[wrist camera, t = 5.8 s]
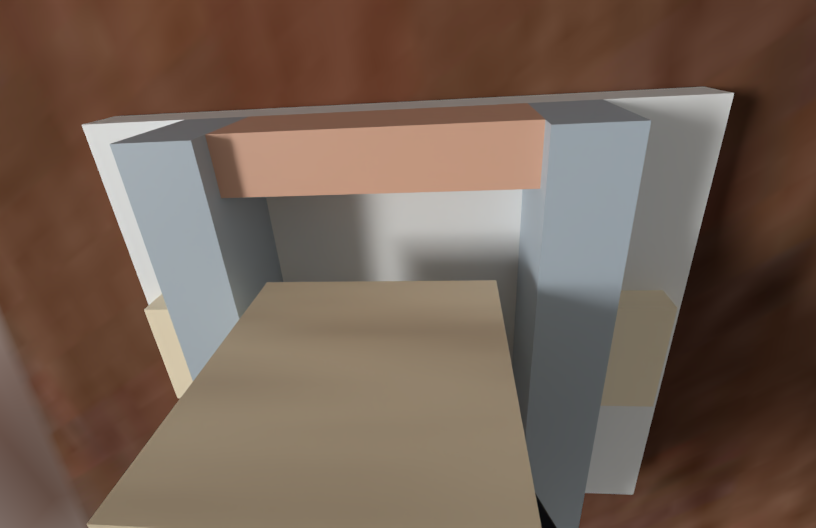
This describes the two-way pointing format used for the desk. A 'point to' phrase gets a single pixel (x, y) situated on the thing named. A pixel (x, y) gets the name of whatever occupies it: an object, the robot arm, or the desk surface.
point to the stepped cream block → (343, 418)
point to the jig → (443, 237)
